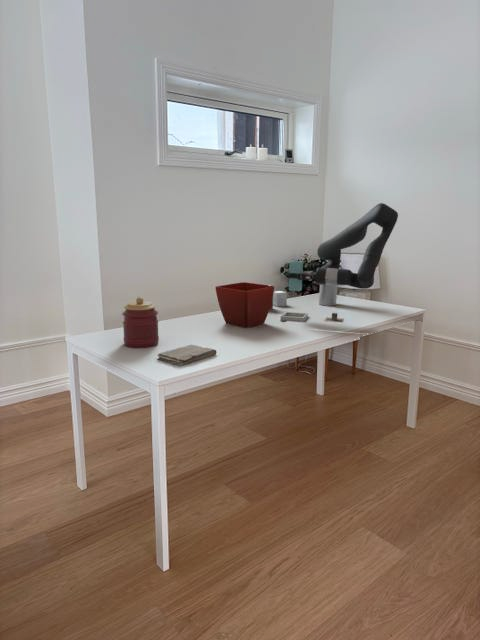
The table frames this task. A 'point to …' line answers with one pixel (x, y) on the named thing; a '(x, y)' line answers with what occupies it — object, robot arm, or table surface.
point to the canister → (140, 324)
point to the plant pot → (244, 303)
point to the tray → (293, 316)
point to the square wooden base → (334, 318)
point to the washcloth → (186, 355)
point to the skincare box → (279, 298)
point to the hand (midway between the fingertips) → (290, 274)
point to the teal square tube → (294, 282)
